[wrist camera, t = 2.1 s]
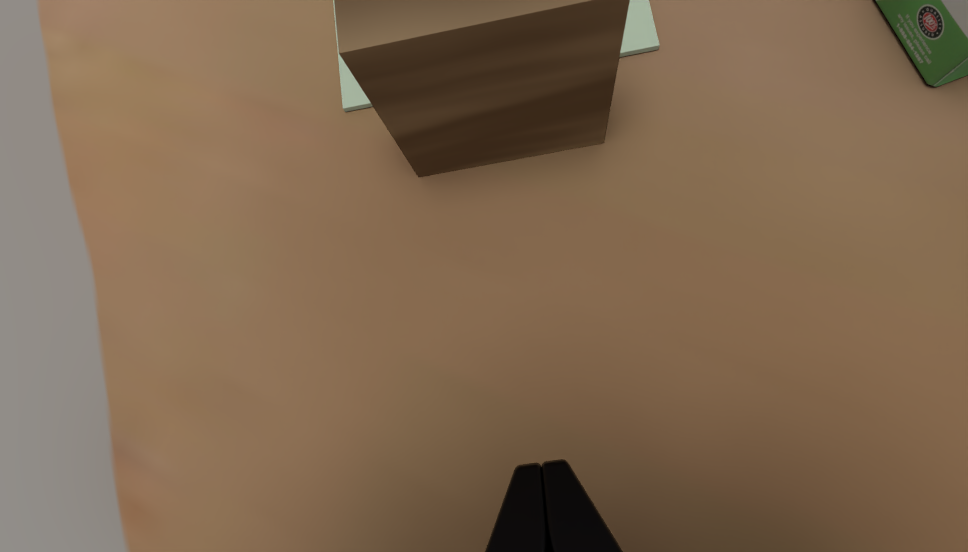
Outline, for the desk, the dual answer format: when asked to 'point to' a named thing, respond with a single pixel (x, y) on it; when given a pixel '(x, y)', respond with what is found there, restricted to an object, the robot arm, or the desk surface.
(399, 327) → the desk surface
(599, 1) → the walnut plaque
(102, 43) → the desk surface
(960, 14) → the ink box
